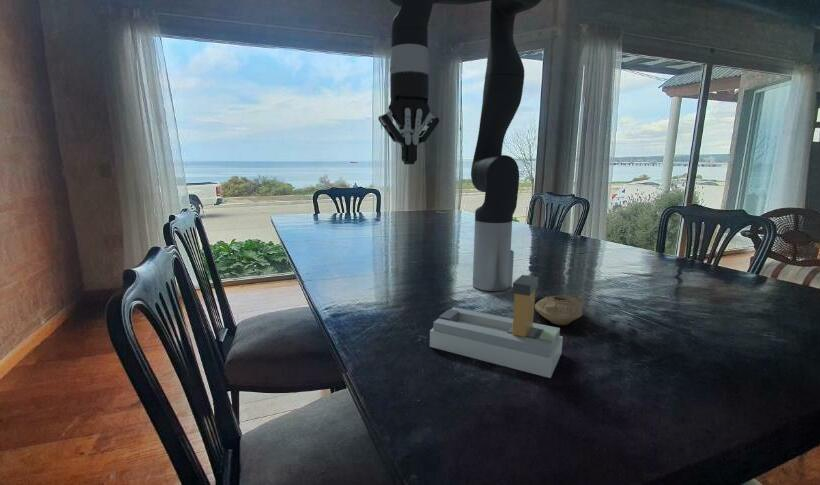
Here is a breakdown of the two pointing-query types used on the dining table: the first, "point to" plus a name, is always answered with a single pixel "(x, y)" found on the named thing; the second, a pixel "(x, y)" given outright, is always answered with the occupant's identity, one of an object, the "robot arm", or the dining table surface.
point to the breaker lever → (524, 307)
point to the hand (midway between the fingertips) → (409, 164)
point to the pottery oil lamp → (560, 308)
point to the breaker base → (497, 352)
